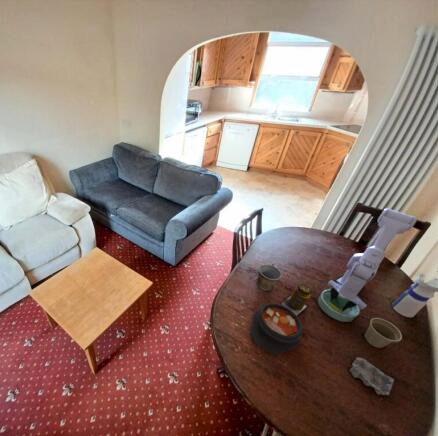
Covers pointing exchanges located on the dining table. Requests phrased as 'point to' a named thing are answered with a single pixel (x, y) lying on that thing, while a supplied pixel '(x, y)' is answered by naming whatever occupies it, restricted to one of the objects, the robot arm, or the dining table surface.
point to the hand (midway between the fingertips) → (337, 305)
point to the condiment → (298, 299)
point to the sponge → (337, 303)
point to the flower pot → (382, 333)
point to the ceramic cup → (268, 276)
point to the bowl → (341, 316)
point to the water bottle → (415, 296)
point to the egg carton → (372, 376)
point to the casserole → (276, 328)
